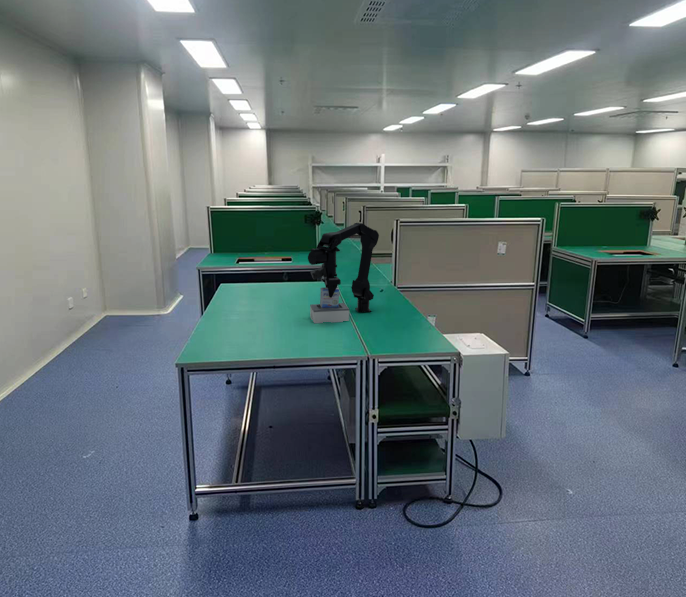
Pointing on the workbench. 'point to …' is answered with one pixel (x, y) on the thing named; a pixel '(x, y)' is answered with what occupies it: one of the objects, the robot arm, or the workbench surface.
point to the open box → (329, 313)
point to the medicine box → (329, 299)
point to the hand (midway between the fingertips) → (329, 296)
